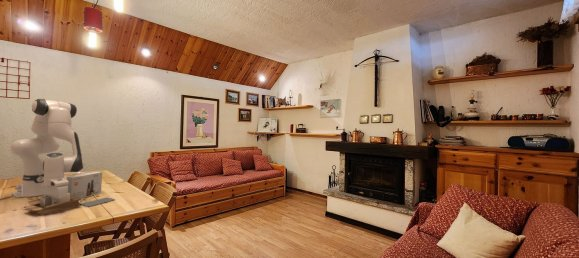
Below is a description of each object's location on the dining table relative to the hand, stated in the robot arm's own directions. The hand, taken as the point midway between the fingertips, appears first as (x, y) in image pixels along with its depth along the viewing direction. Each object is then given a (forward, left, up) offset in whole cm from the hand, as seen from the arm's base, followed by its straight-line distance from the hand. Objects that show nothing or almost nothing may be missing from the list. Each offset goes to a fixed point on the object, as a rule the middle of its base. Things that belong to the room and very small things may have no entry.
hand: (53, 203), depth 146 cm
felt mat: (+9, +19, -3) cm, 21 cm away
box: (0, +1, -3) cm, 3 cm away
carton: (0, +1, -3) cm, 3 cm away
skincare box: (-11, +22, -4) cm, 25 cm away
